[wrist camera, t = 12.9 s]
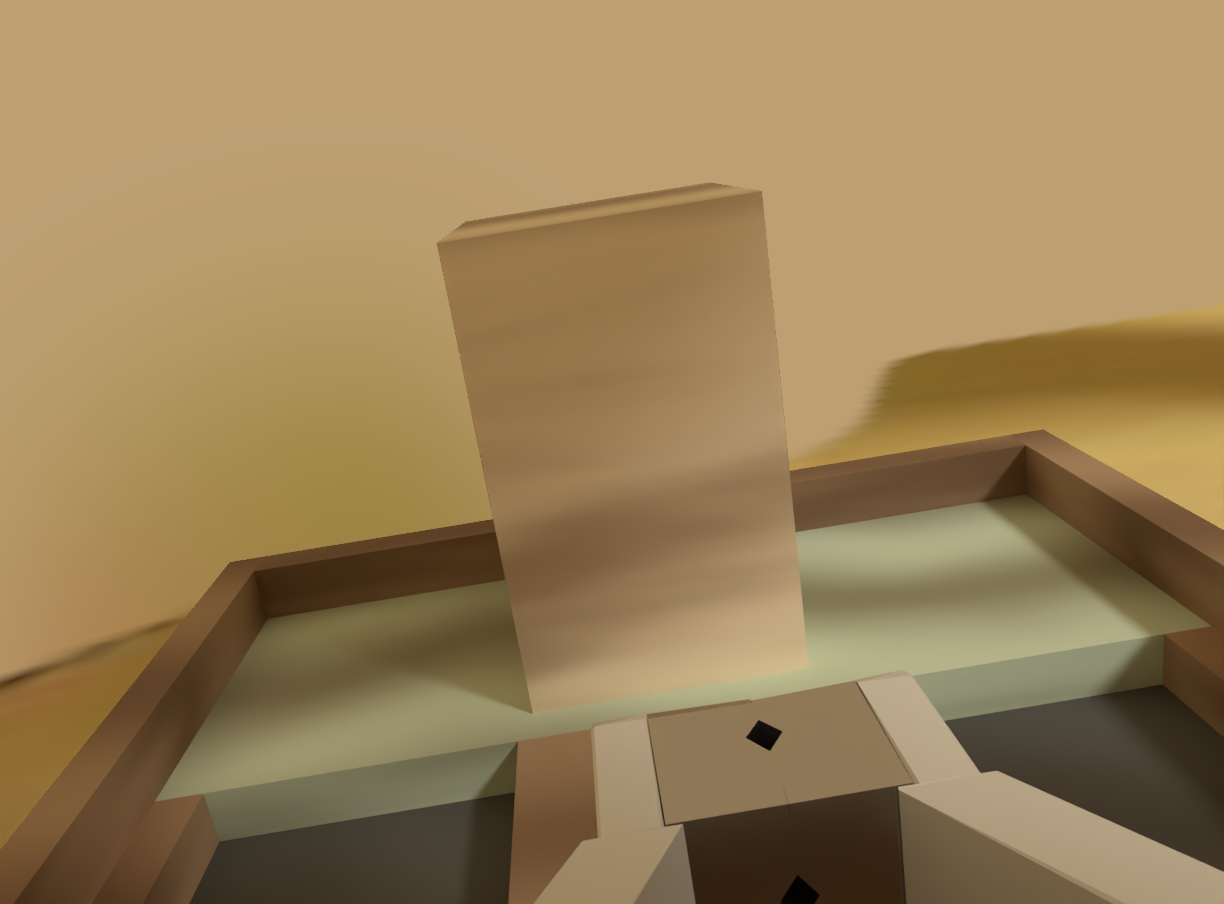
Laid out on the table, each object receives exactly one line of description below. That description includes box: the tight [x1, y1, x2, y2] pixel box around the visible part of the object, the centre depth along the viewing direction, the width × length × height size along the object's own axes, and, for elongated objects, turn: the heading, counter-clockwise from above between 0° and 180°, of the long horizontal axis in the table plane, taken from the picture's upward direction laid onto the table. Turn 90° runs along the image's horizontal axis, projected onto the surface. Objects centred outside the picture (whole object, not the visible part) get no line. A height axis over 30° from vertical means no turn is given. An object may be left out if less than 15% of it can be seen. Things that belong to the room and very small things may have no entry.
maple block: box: [437, 183, 809, 714], centre depth 22 cm, size 6×6×10 cm
